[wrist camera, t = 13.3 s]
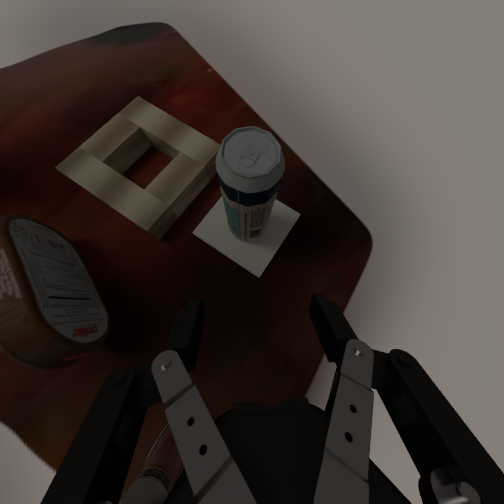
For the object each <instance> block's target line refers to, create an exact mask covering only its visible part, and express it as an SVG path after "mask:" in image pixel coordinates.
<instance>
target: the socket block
mask: <svg viewBox="0 0 504 504" xmlns="http://www.w3.org/2000/svg"><path fill="white" fill-rule="evenodd" d="M151 146H153V147H154V148H156V149H158V150H159V151H161V152H162V153H164V154H166V155H167V156H169V157H170V158H172V159H173V160H172V161H171V162H170V163H169V164H168V165H167V166H166V167H165V168H164V170H163V171H162V172H161V173H160V174H159V175H158V176H157V177H156V178H155V179H154V180H153V181H152V182H151V183H150V184H149V185H148V186H147V187H146V188H145V189H142V188H141V187H139V186H138V185H136V184H135V183H133V182H132V181H130V180H129V179H127V178H125V177H124V176H122V174H123V173H124V172H125V171H126V170H127V169H128V168H129V167H130V166H131V165H132V164H133V163H134V162H135V161H136V160H137V159H138V158H140V157H141V156H142V155H143V154H144V153H145V152H146V151H147V150H148V149H149V148H150V147H151ZM220 146H221V145H220V144H218V143H216V142H215V141H213V140H211V139H209V138H208V137H206V136H204V135H203V134H201V133H199V132H198V131H196V130H194V129H193V128H191V127H189V126H188V125H186V124H184V123H182V122H181V121H179V120H177V119H176V118H174V117H172V116H171V115H169V114H167V113H166V112H164V111H162V110H161V109H159V108H157V107H155V106H154V105H152V104H150V103H149V102H147V101H145V100H144V99H142V98H140V97H139V96H138V97H137V98H135V99H134V100H133V101H132V102H131V103H130V104H128V105H127V106H126V107H125V108H124V109H123V110H121V111H120V112H119V113H118V114H117V115H116V116H115V117H113V118H112V119H111V120H110V121H109V122H108V123H106V124H105V125H104V126H103V127H102V128H101V129H99V130H98V131H97V132H96V133H95V134H94V135H92V136H91V137H90V138H89V139H88V140H87V141H86V142H84V143H83V144H82V145H81V146H80V147H79V148H77V149H76V150H75V151H74V152H73V153H72V154H70V155H69V156H68V157H67V158H66V159H65V160H63V161H62V162H61V163H60V164H59V165H58V166H56V167H55V168H56V169H57V170H59V171H60V172H61V173H63V174H64V175H66V176H67V177H69V178H70V179H72V180H73V181H74V182H76V183H77V184H79V185H80V186H82V187H83V188H85V189H86V190H87V191H89V192H90V193H92V194H93V195H95V196H96V197H98V198H99V199H100V200H102V201H103V202H105V203H106V204H108V205H109V206H111V207H112V208H114V209H115V210H116V211H118V212H119V213H121V214H122V215H124V216H125V217H127V218H128V219H129V220H131V221H132V222H134V223H135V224H137V225H138V226H140V227H141V228H143V229H144V230H145V231H147V232H148V233H150V234H151V235H153V236H154V237H156V238H157V239H158V240H160V239H161V237H162V236H163V235H164V234H165V233H166V232H167V230H168V229H169V228H170V227H171V226H172V225H173V223H174V222H175V221H176V220H177V219H178V218H179V216H180V215H181V214H182V213H183V212H184V210H185V209H186V208H187V207H188V206H189V205H190V203H191V202H192V201H193V200H194V199H195V198H196V196H197V195H198V194H199V193H200V192H201V191H202V189H203V188H204V187H205V186H206V185H207V184H208V182H209V181H210V180H211V179H212V178H213V177H214V175H215V174H216V173H217V170H216V156H217V153H218V151H219V148H220Z"/></svg>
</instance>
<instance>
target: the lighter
mask: <svg viewBox="0 0 504 504" xmlns="http://www.w3.org/2000/svg"><path fill="white" fill-rule="evenodd" d="M183 467H184V465H183V462H182V459H181V456H180V453H179V450H178V448H177V445H176V442H175V439H174V436H173V433H172V430H171V428H170V425H169V422H168V424H167V425H166V426H165V428H164V429H163V431H162V433H161V434H160V436H159V438H158V439H157V441H156V443H155V444H154V446H153V448H152V449H151V451H150V453H149V455H148V457H147V459H146V462H145V464H144V466H143V468H142V470H141V472H140V473H139V475H138V476H137V477H136V478H135V480H134V481H133V483H132V484H131V485H130V487H129V488H128V489H127V491H126V492H125V494H124V495H123V496H122V498H121V499H120V500H119V503H118V504H163V503H164V501H165V499H166V498H167V496H168V494H169V493H170V491H171V490H172V488H173V486H174V485H175V483H176V481H177V479H178V477H179V475H180V473H181V471H182V469H183Z"/></svg>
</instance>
